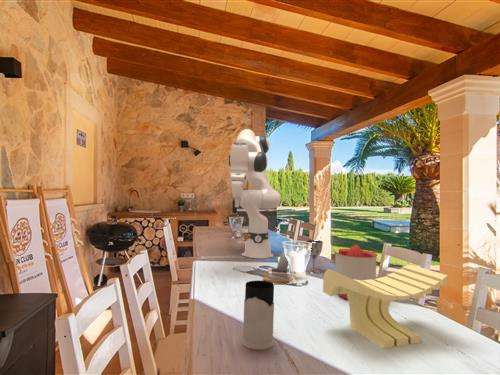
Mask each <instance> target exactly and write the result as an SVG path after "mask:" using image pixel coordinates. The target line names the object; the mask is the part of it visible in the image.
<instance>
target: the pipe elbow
mask: <svg viewBox="0 0 500 375" xmlns="http://www.w3.org/2000/svg"><path fill="white" fill-rule="evenodd" d="M288 266H289V264H288V261H287V259H286V257H285V254H284V248H283V247H282V250H281V253H280V257H279V260H278V263H277V267H276V268H277V269H276V273H286V271H287V269H289V268H288Z"/></svg>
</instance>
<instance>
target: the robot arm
mask: <svg viewBox="0 0 500 375" xmlns="http://www.w3.org/2000/svg"><path fill="white" fill-rule="evenodd" d="M238 133H239V134H238V135H237V137H236V140H235V142H233V143H232V144H231V148H230V152H229V154H230V155H229V156H228V166H229V172H228V174H229V177H228V178H229V179H228V180H229V181H231V194H232V197H233V198H234V208H240V207H241V208H243V209H244V211H245V213H246V215H247V216H248V232H247V239H246V240H245V242H244V251H243V252H242V253H241V256H243V257H246V258H251V259H269V258H274V254H273V253H272V252H271V251H272V250H271V246H272V244H271V241H270V240H269V220H268V218H267V216H265V215H264V214H262V213H261V212H260V209H265V210H271V209H276V208H278V207H279V206H280V205H281V202H282V197H281V195H280V193H279V192H278V191H276V190H275V189H274V188H273V187H272V185H271V184H270V183H269V181H268V178H267V172H266V169H267V168H268V157H267V155H266V154H267V153H268V151H269V149H270V141H269V139H268V137H267V136H266V135H263V134H262V135H257V136H256V134H255V132H254V130H252V129H249V128H245V129H242V130H241V131H240V132H238ZM246 182H248V183H249V185H250V186H251V187H253V188H254V189H245V190H244V185H246Z"/></svg>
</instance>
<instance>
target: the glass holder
mask: <svg viewBox="0 0 500 375" xmlns="http://www.w3.org/2000/svg"><path fill="white" fill-rule="evenodd" d="M274 290H275V284H273V283H271V282H268V281H263V280H250V281H246V283H245V290H244V294H245V296H244V302H243V303H244V305H243V329H242V337H241V339H240V342H241V345H243V346H244V347H246V348H247V349H251V350H265V349H270V348H271V347H273V346H274V345H275V339H274V315H275V314H274V313H275V303H274V299H275V298H274V296H275V294H274V293H275V291H274Z"/></svg>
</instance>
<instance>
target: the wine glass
mask: <svg viewBox="0 0 500 375" xmlns="http://www.w3.org/2000/svg"><path fill="white" fill-rule="evenodd" d="M306 242H310V243H312V248H311V249H312V250H311V255H309V256H310V258H311V260H312V268H311V269H310V268H309V269H306V270H305V271H306V272H307V273H310V274H321V271H320V270H318V269H315V264H316V260H317V258H318V257H319V256H320V255H321V253H322V252H323V244H324V241H323V240H318V239H307V240H306Z"/></svg>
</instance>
